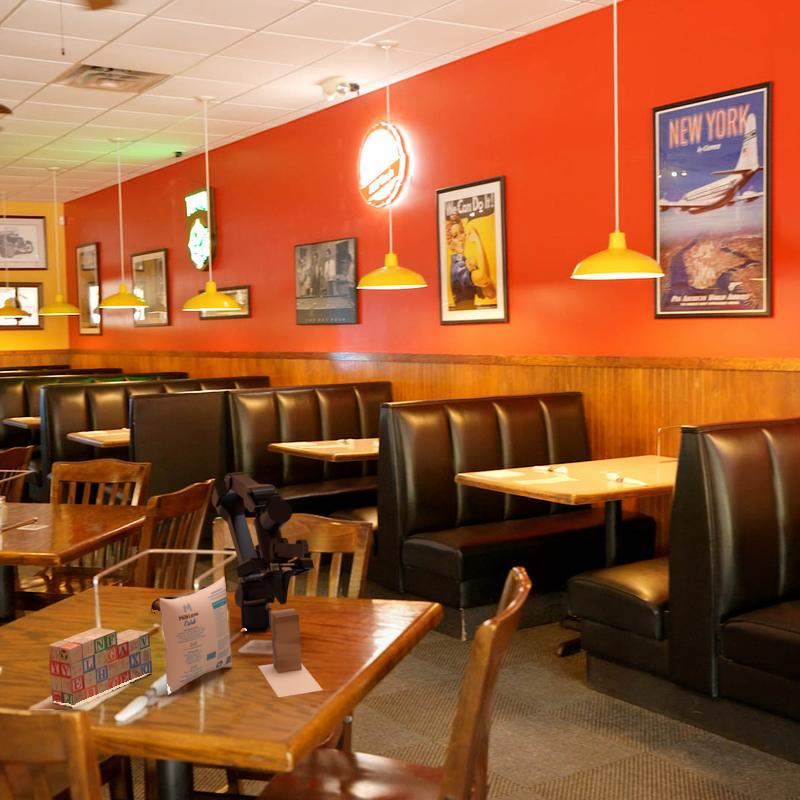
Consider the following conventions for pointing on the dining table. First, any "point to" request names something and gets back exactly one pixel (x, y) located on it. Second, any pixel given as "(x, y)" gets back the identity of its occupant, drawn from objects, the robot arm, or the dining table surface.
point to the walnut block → (286, 640)
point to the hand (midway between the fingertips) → (283, 604)
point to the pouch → (196, 634)
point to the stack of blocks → (97, 662)
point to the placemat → (290, 681)
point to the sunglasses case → (157, 602)
